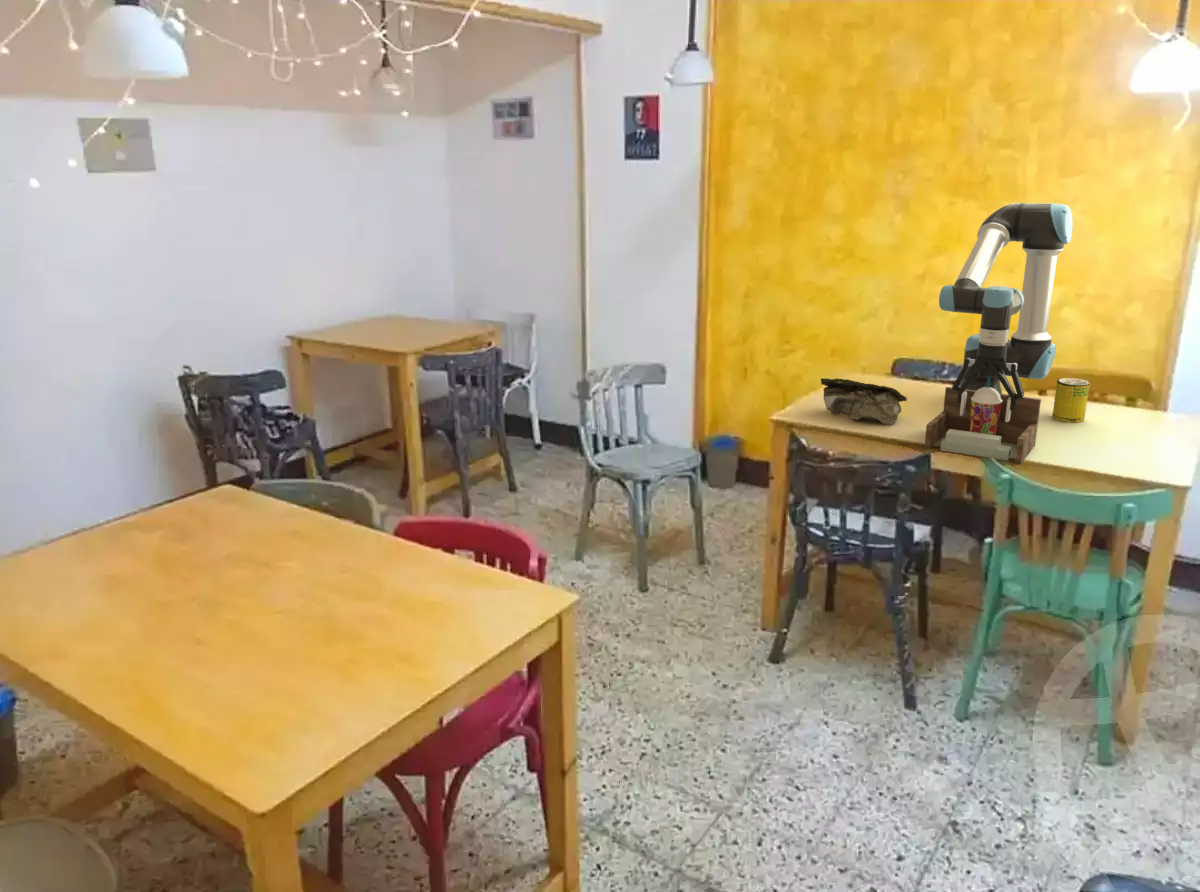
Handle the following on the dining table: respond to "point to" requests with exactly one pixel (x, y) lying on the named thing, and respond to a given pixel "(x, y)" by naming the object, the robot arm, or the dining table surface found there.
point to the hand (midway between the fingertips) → (984, 417)
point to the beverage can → (1070, 400)
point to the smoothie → (985, 410)
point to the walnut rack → (1013, 432)
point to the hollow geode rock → (862, 400)
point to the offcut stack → (975, 444)
